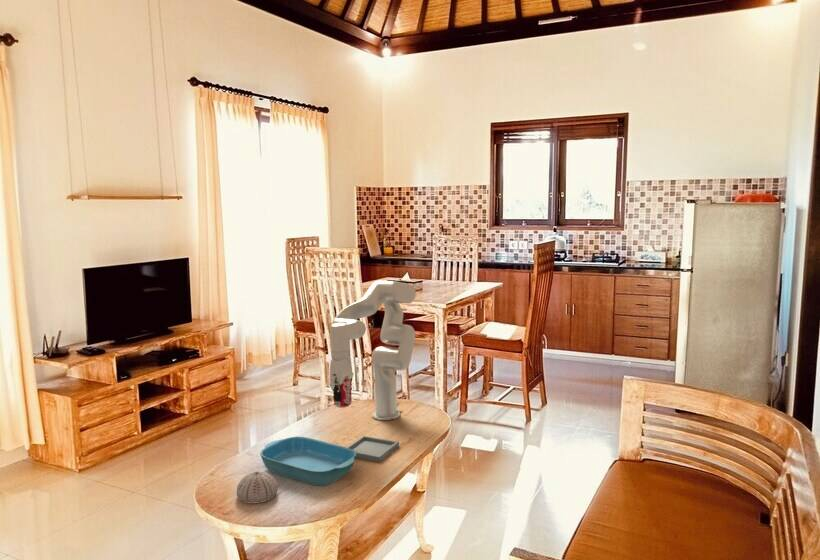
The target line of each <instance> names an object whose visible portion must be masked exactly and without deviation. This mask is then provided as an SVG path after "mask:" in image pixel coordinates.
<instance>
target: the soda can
mask: <svg viewBox="0 0 820 560" xmlns="http://www.w3.org/2000/svg"><path fill="white" fill-rule="evenodd" d="M335 383H338V382H337V381H336V382H335ZM336 387H337V388H338V385H336ZM340 391H341V401H340V402H339V401H334V400H333V405H334V406H336V407H337V408H340V409H341V408H342V409H345V408H348V407H350V405H352V385H351V380H350V378H349V377H347V378H344V381H343V383H342V384H341V388H340Z"/></svg>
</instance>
